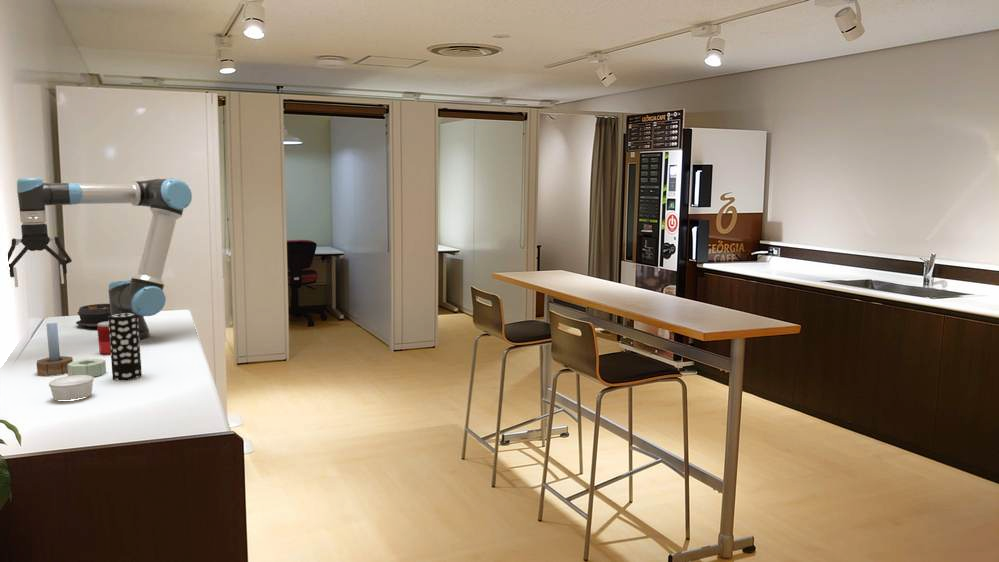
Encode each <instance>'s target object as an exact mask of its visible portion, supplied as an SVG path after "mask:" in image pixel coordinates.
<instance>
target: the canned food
mask: <svg viewBox="0 0 999 562" xmlns="http://www.w3.org/2000/svg"><path fill="white" fill-rule="evenodd" d="M97 338H98V339H97V340H98V350H99V354H100V355H103V356H111V350H110V336H109V322H108V321H107V322H101V323H98V325H97Z"/></svg>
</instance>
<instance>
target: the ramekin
mask: <svg viewBox="0 0 999 562" xmlns="http://www.w3.org/2000/svg"><path fill="white" fill-rule="evenodd" d="M93 382H94V377H92V376H89V375H74V376H68V375H67V376H61V377H57V378H55V379H53V380H51V381H49V382H48V386H49V388H50V392H51V394H52V398H53V400H55V399H56V400H71V399H78V398H83V397H88V396H89V397H90V396H91V395H92V392H93V384H94V383H93ZM89 397H88V398H89ZM56 400H55V401H56Z"/></svg>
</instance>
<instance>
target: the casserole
mask: <svg viewBox="0 0 999 562" xmlns="http://www.w3.org/2000/svg"><path fill="white" fill-rule="evenodd" d="M76 314H77V315H78V316H79V318H80V320H78V321H76V322H75V324H76V325H78V326H84V327H85V326H86V328H91V327H97V325H98V323H101V322H107V321H108V316H109V315H111V313H110V303H98V304H97V303H95V304H88V305H83V306H81V307H79V309H78V312H77V313H76ZM97 328H98V327H97Z"/></svg>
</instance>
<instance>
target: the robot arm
mask: <svg viewBox="0 0 999 562" xmlns="http://www.w3.org/2000/svg"><path fill="white" fill-rule="evenodd" d="M16 190H17V191H16V192H17V199H18V208H19V218H20V223H22V224H21V226H20V227H21V228H20V230H21V239H20V238H14V237H13V238H12V239H11V246H10V248H9V250H8V252H7V254H8V262H10V259H11V257H12V255H13V253H14V251H15V249H16V247H17V246H18V245H19V244H20V243H21V244H22V245H23V246H24V247H23V248H22V249H21V251H20V252H19V253H18V254H17V256H16V257H15V258H13V260H12V261H11V263H9V267H10V270H9V277H10V278H13V279H14V286H15V287H14V288H18V287H19V282H18V273H17V267H16V266H15V265H16V264H18V262H19V261H20V260H21V259H22V257H24V255H25V254H26V253H27V252H28V250H29V251H30V252H35V251H39V252H40V251H44V250H45V251H46V252H48V253H49V254H50V255H51V256H52V257H54V258H55V259H56V260H57V261H58V262H60V264H59V270H60V271H59V273H60V281H61V282H60V283H61V285H64V284H65V278H64V275H66V274H68V271H67V270H68V269H67V264H70V263H72V258H71V257H70V256H69V254H68V252H67V251H66V249H65V248H64V247H63V246H62V244H61V243H60V239H59V236H57V235H56V236H53V237H49V235H48V234H49V233H48V224H46V223H47V212H46V206H65V205H66V206H68V205H70V206H72V205H78V204H80V205H85V204H87V205H89V204H93V205H94V204H106V205H107V204H131V205H132V206H135V207H139V206H141V207H147V208H149V210H150V211H151V213H152V216H151V220H150V222H149V223H150V224H149V228H148V231H147V236H146V240H145V244H144V247H143V251H142V255H141V259H140V262H139V266H138V270H137V274H135V275H134V276H131V279H127V280H126V279H125V280H118V281H111V282H110V283H108V289H107V290H108V298H109V304H110V313H111V315H112V314H119V313H137V314H138V327H139V340H142V339H141V338H143V339H146V337H147V338H148V336H149V337H150V329H149V327H148V325H147V322H146V320H145V318H144V317H151V316H152V317H153V316H155V315H157V314H158V313H160V312H161V311H162V310H163V308H164V306H166V305H165V304H166V299H167V297H166V294H165V293H164V286H165V283H164V281H163V280H162V278H163V273H164V270H165V266H166V262H167V257H168V255H169V250H170V247H171V243H172V238H173V236H174V231H175V226H176V222H177V220H178V219H180V218H182V216H183V212H184V210H185V209H186V208H187V207H188V206H190V204H191V202H192V198H193V195H192V194H193V193H192V190H191V189H190V187H189V185H188V184H187V183H186V182H185V181H183V180H180V179H176V178H155V179H149V180H136V181H135V180H133V181H131V182H130V183H81V182H80V183H77V182H75V183H74V182H58V183H57V182H56V183H55V182H53V183H52V182H51V183H50V182H49V183H48V182H43V179H42V178H41V177H23V178H22V177H20V178H18V179H17V181H16ZM50 242H52V243H53V244H56V246H57V248H58V249H59V251H60V252H61V254H62V255H63V256H64V258H65V259H63V258H62V257H61V256H60V255H59V254H58V253H57V252H55V251H54V250H53V249H52V248H51V247H50V246H49V243H50Z"/></svg>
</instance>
